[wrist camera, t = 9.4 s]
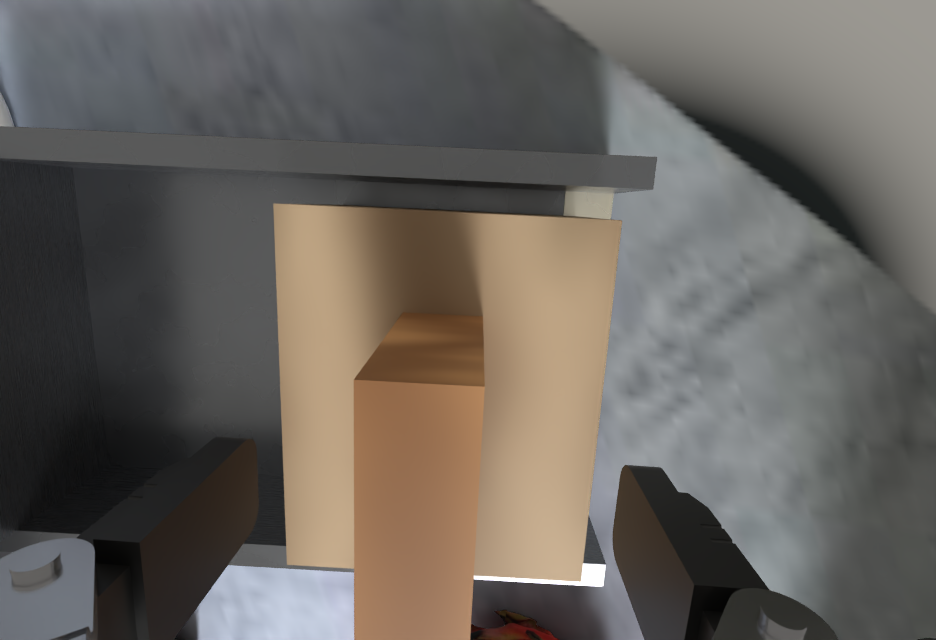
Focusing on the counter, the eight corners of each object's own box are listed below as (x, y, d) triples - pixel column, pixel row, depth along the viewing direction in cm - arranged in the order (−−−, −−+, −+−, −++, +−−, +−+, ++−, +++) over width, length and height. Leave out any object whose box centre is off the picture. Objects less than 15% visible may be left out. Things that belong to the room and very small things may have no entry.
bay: (609, 170, 22) (681, 150, 14) (574, 499, 25) (616, 629, 18) (65, 144, 22) (-162, 110, 14) (106, 472, 26) (-58, 588, 18)
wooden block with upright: (576, 216, 21) (720, 230, 8) (551, 474, 24) (634, 780, 11) (339, 204, 21) (131, 200, 9) (342, 462, 24) (185, 752, 11)
